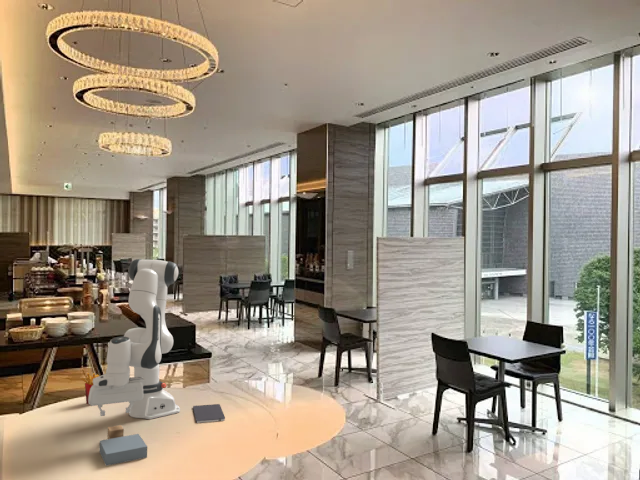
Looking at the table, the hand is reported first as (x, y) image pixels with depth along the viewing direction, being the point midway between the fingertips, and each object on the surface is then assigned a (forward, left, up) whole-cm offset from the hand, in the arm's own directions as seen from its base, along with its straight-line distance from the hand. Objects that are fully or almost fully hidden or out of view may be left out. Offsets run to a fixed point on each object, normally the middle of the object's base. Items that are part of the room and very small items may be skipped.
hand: (115, 414), depth 191 cm
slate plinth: (0, +14, -11) cm, 18 cm away
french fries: (+1, -53, -11) cm, 54 cm away
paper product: (-43, -13, -11) cm, 47 cm away
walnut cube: (0, -1, -11) cm, 11 cm away
